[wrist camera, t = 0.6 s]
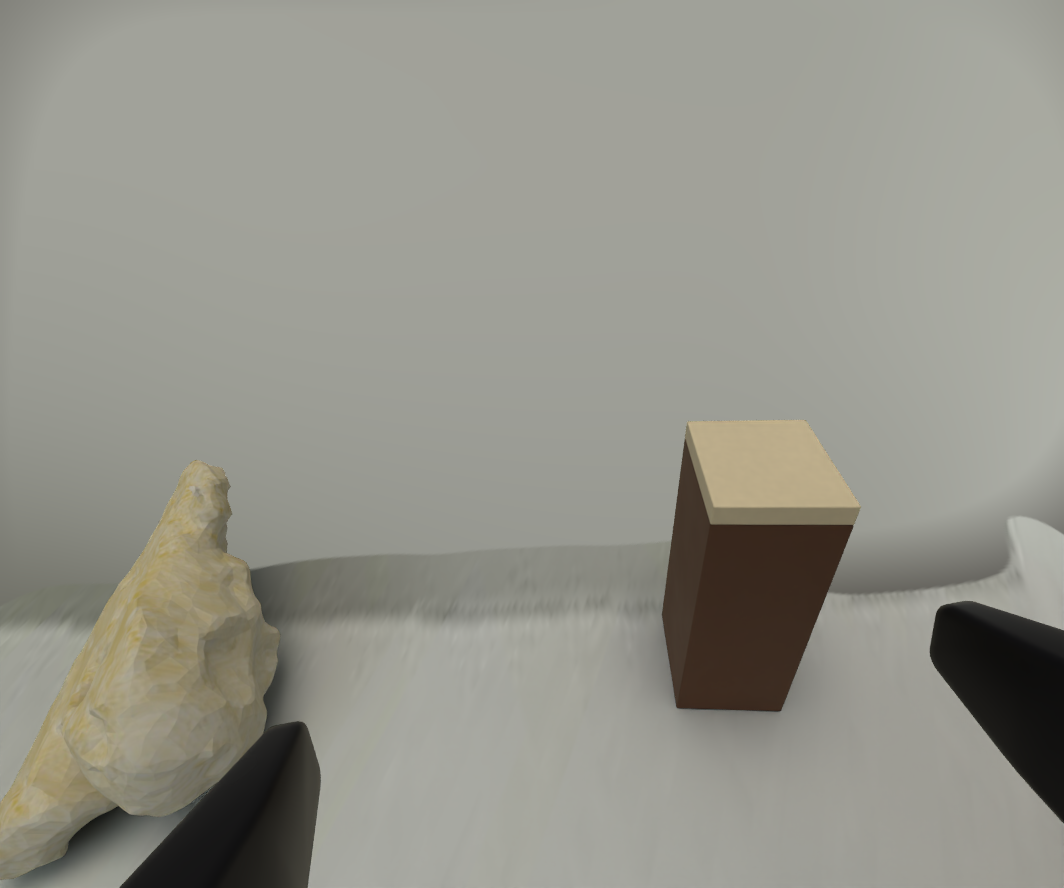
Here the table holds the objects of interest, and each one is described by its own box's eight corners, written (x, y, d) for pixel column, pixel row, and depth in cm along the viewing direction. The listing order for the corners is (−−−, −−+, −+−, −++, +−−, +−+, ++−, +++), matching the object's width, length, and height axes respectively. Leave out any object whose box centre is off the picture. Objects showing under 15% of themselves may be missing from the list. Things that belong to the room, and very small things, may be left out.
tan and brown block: (781, 711, 24) (862, 507, 17) (676, 708, 24) (713, 506, 17) (750, 616, 28) (806, 419, 21) (661, 614, 28) (686, 420, 21)
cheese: (191, 983, 19) (395, 592, 21) (-89, 1016, 15) (194, 526, 17) (182, 726, 32) (309, 494, 34) (27, 705, 28) (182, 443, 29)
